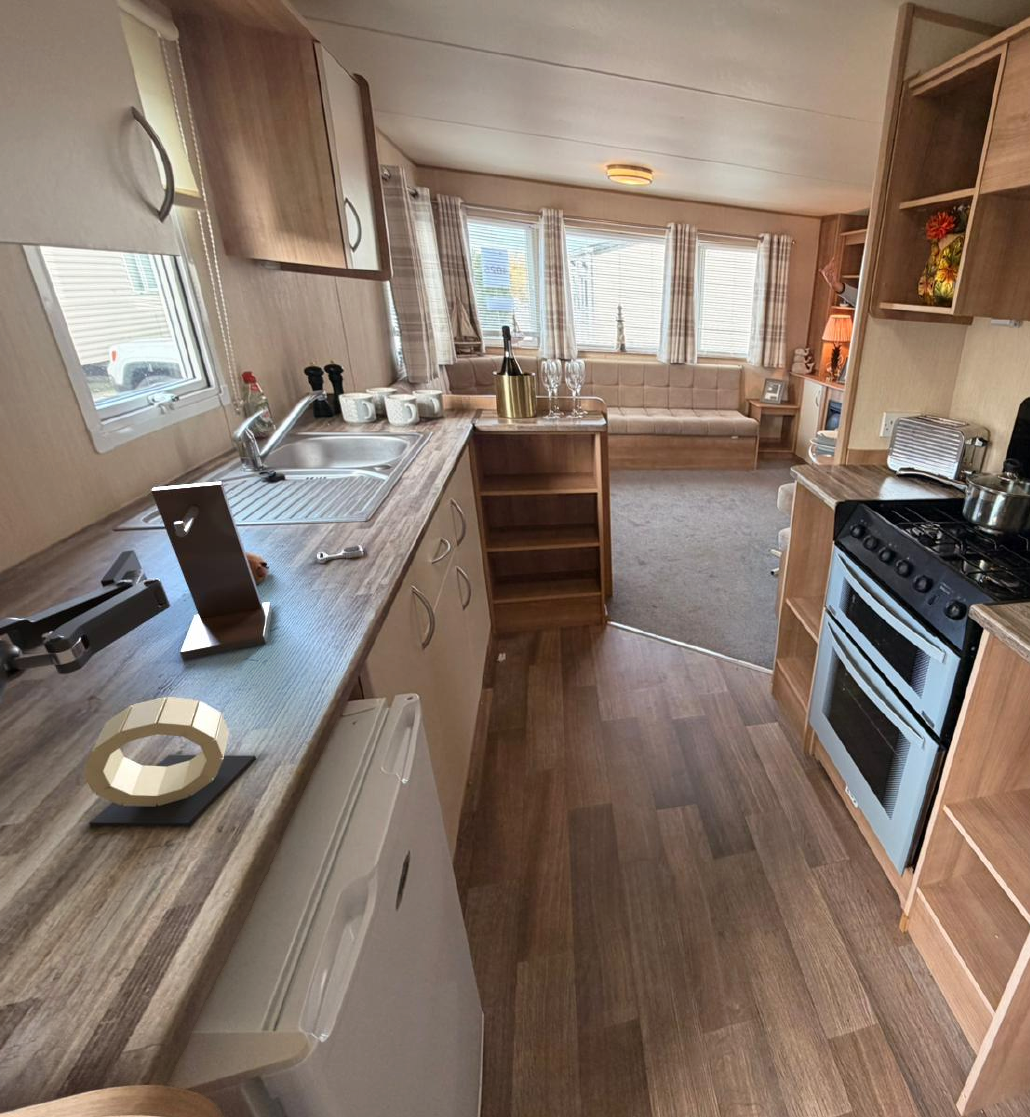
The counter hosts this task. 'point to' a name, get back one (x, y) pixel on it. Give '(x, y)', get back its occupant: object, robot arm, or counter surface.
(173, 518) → the stand
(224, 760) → the mat
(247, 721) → the counter surface
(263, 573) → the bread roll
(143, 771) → the tape roll
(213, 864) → the counter surface
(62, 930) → the counter surface
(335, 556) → the metal bottle opener
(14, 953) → the counter surface
